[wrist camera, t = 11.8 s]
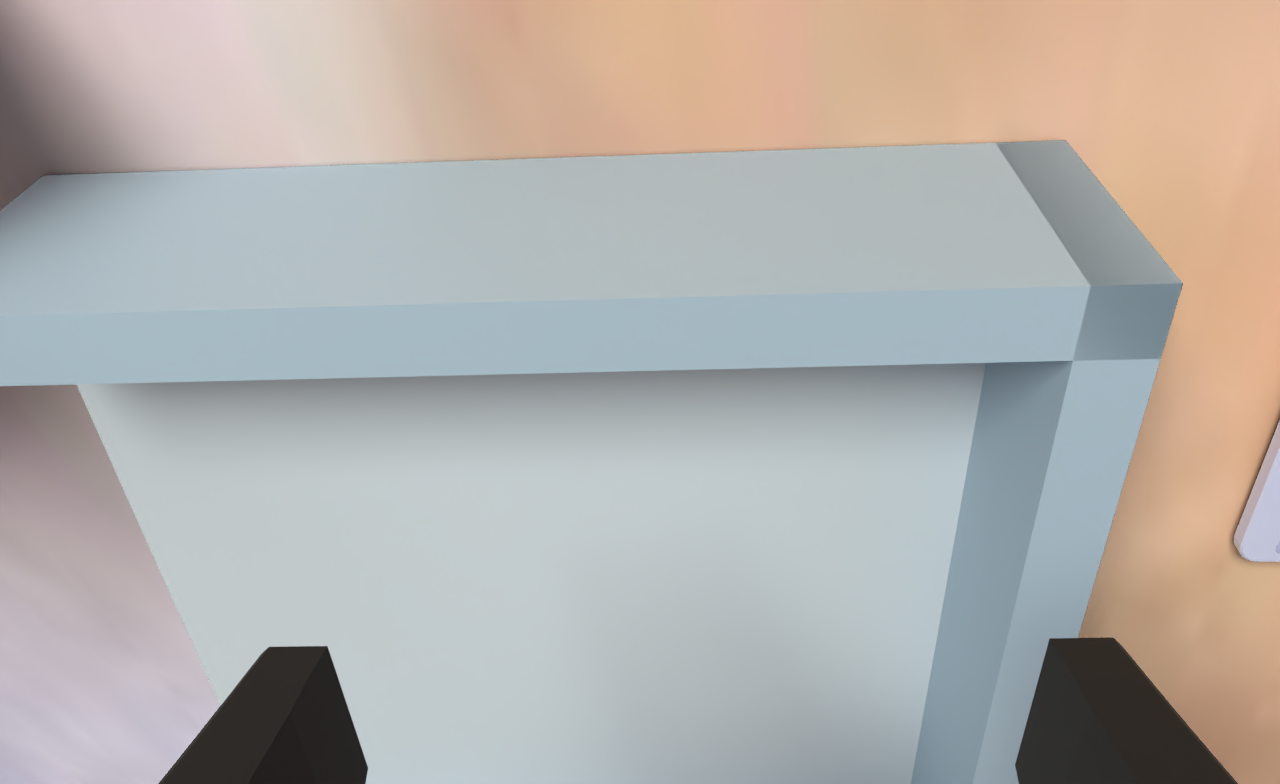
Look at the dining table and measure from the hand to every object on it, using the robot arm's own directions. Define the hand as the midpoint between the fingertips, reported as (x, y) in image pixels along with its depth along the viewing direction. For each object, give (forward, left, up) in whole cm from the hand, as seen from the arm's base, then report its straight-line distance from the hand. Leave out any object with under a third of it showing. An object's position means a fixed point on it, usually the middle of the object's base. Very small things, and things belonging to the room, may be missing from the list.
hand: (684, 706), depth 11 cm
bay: (+3, +8, -10) cm, 13 cm away
